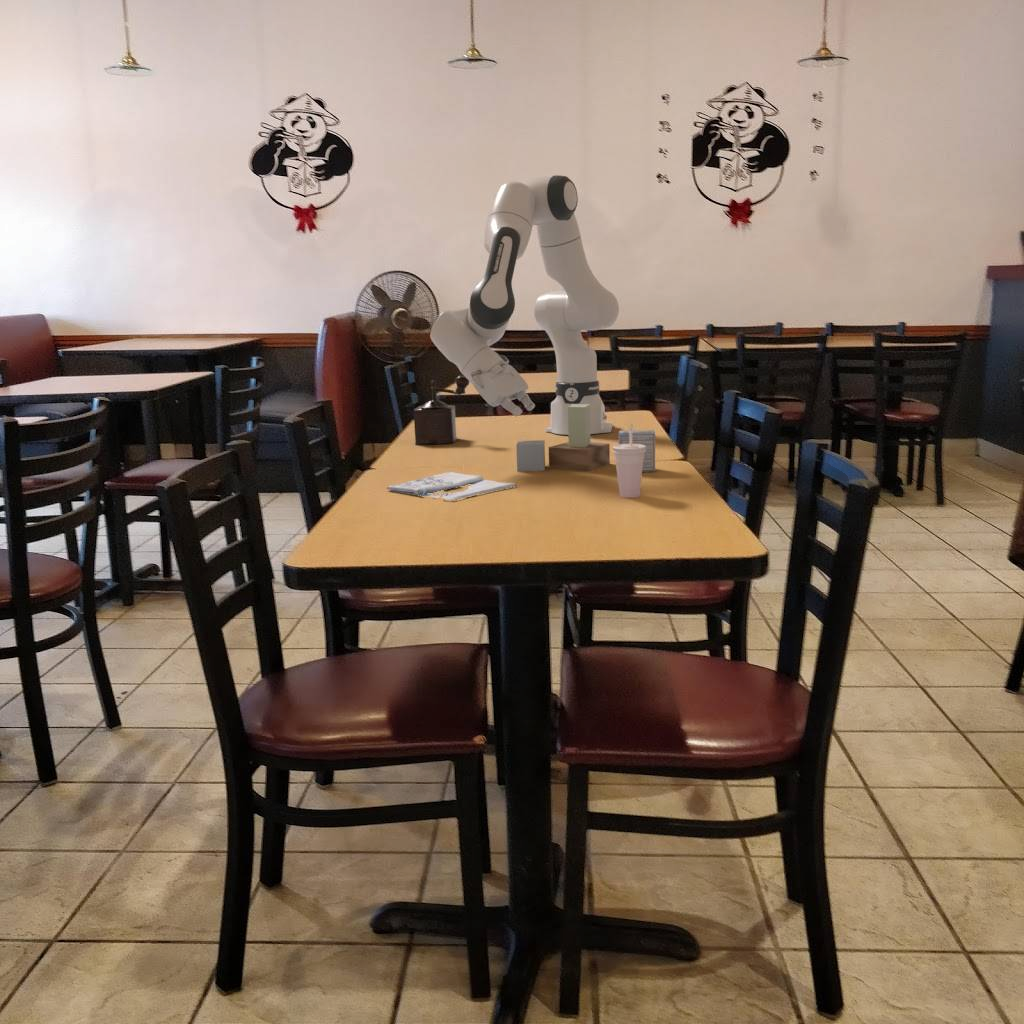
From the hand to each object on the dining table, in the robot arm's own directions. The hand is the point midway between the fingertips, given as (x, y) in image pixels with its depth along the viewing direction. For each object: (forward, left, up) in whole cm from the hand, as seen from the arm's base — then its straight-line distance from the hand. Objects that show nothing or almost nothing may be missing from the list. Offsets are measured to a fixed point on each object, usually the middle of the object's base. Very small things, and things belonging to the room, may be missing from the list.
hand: (526, 411), depth 219 cm
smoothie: (+31, +31, -12) cm, 45 cm away
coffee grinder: (-29, -33, -12) cm, 46 cm away
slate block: (+6, +3, -12) cm, 14 cm away
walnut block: (+1, +13, -13) cm, 18 cm away
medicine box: (+5, +27, -12) cm, 30 cm away
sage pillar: (+1, +13, -7) cm, 15 cm away
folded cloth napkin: (+30, -7, -13) cm, 34 cm away
